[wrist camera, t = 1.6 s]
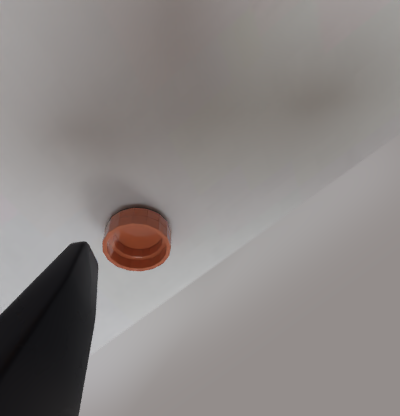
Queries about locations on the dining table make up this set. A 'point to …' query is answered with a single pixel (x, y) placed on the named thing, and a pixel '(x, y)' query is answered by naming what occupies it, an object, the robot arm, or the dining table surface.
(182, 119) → the dining table surface
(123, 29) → the dining table surface
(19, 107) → the dining table surface
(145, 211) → the side dish
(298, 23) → the dining table surface
